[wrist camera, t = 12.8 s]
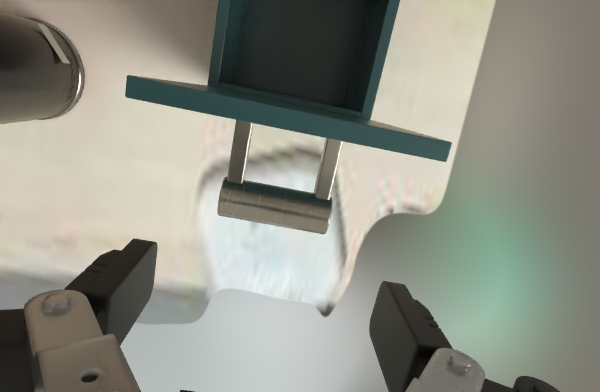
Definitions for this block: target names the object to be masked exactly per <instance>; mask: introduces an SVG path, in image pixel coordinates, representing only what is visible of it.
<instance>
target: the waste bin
mask: <svg viewBox="0 0 600 392" xmlns="http://www.w3.org/2000/svg"><path fill="white" fill-rule="evenodd" d="M399 2H400V0H219V3H218V10H217V18H216V25H215V33H214V40H213V48H212V55H211V63H210V70H209V78H208V85H207V86H211V87H216V88H221V89H225V90H230V91H235V92H240V93H245V94H249V95H254V96H259V97H264V98H268V99H273V100H278V101H283V102H288V103H292V104H297V105H302V106H307V107H312V108H316V109H321V110H326V111H331V112H336V113H340V114H345V115H350V116H355V117H360V118H364V119H369V120H370V118H371V114H372V110H373V106H374V102H375V98H376V94H377V90H378V86H379V82H380V78H381V74H382V70H383V66H384V62H385V58H386V54H387V50H388V46H389V42H390V38H391V34H392V30H393V26H394V22H395V18H396V14H397V10H398V6H399Z"/></svg>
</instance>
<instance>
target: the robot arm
mask: <svg viewBox="0 0 600 392" xmlns="http://www.w3.org/2000/svg"><path fill="white" fill-rule="evenodd" d="M83 88H84V69H83V64H82V61H81V58H80V56H79V54H78V52H77V50H76V48H75V47H74V45H73V44H72V42H71V41H70V40H69V39H68V38H67V37H66V36H65V35H64V34H63V33H62V32H61V31H59V30H58V29H56V28H55V27H53V26H52V25H50V24H48V23H45V22H43V21H39V20H36V19H32V18H26V17H19V16H16V15H12V14H9V13H5V12H1V11H0V124H6V123H14V122H21V121H30V120H44V119H51V118H56V117H59V116H62V115H64V114H65V113H67V112H68V111H70V110H71V109H72V108H73V107H74V106H75V105H76V103H77V102H78V101H79V99H80V97H81V94H82V92H83ZM156 257H157V243H156V242H152V241H146V240H140V239H133V240H132V241H131V242H130V243H129V244H128V245H127V246H126V247H125V248H124V249H123V250H122V251H119V250H112V251H110V252H107V253H105V254H103V255H100V256H99V257H98V258H97V259H96V260H95V261H94V262H93V263H92V265H90V266H89V267H87V268H86V269H85V271H83V272H82V273H81V274H80V275H79V276H78V277H77V278H76V279H74V280H73V281H72V282H71V283H70V284H69V285H68V286H67V287H66V288H65V289H64V290H53V291H48V292H44V293H41V294H39V295H36V296H34V297H33V298H31V299H30V300H29V301H28V302H27V303H26V304H25V306H24V309H13V310H0V392H141V391H140V389H139V386H138V384H137V382H136V380H135V378H134V376H133V373H132V372H131V369H130V367H129V365H128V363H127V361H126V358H125V357H124V354H123V352H122V350H121V348H120V345H121V343H122V342H123V340H124V339H125V337H126V335H127V334H128V332H129V331H130V329H131V328H132V326H133V324H134V323H135V321H136V320H137V318H138V317H139V315H140V313H141V312H142V310H143V309H144V307H145V305H146V304H147V302H148V300H149V298H150V296H151V293H152V289H153V284H154V275H155V266H156ZM369 330H370V337H371V340H372V343H373V346H374V349H375V352H376V355H377V358H378V361H379V364H380V367H381V370H382V373H383V376H384V379H385V382H386V385H387V387H388V391H389V392H560V391H558V390H557V389H555V388H554V387H553V386H551V385H549V384H548V383H546V382H544V381H542V380H539V379H537V378H533V377H529V376H521V377H518V378H517V379H516V381H515V384H514V386H513V388H510V387H506V386H504V385H501V384H499V383H496V382H493V381H490V380H488V379H485V373H484V370H483V369H482V367H481V366H480V365H479V364H478V363H477V362H476V361H475V360H474V359H472V358H471V357H469V356H468V355H466V354H464V353H462V352H460V351H457V350H454V349H453V348H452V347H451V345H450V343H449V342H448V340H447V339H446V337H445V335H444V334H443V332H442V331H441V329H440V328H439V326H438V324H437V323H436V321H434V318H433V316H432V315H431V313H430V312H429V310H428V309H427V308H426V307H425V306H424V305H422V304H421V303H420V302H419V301H418V300H414V299H413V298H412V296H411V294H410V293H409V291H408V289H407V288H406V286H405V285H404V284H399V283H393V282H387V281H383V282H382V283H381V286H380V288H379V292H378V295H377V298H376V302H375V305H374V309H373V312H372V315H371V319H370V329H369ZM180 392H193V391H186V390H181V391H180Z"/></svg>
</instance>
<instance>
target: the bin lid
mask: <svg viewBox="0 0 600 392" xmlns="http://www.w3.org/2000/svg"><path fill="white" fill-rule="evenodd" d="M125 96H126V97H127V98H132V99H137V100H142V101H147V102H152V103H157V104H162V105H166V106H171V107H176V108H181V109H186V110H191V111H196V112H201V113H206V114H211V115H216V116H221V117H226V118H231V119H236V126H235V132H234V138H233V144H232V151H231V157H230V163H229V170H228V176H227V177H225V178H224V180H223V183H222V187H221V191H220V196H219V201H218V215H219V216H225V217H230V218H236V219H242V220H247V221H253V222H258V223H264V224H269V225H275V226H281V227H286V228H292V229H297V230H303V231H309V232H314V233H320V234H325V233H326V231H327V229H328V226H329V223H330V218H331V213H332V197H330V194H331V190H332V186H333V181H334V177H335V173H336V168H337V164H338V160H339V155H340V151H341V147H342V142H343V141H344V142H349V143H354V144H359V145H364V146H369V147H374V148H379V149H384V150H389V151H394V152H399V153H404V154H409V155H414V156H419V157H424V158H429V159H433V160H438V161H443V162H446V161H447V158H448V155H449V151H450V148H451V145H452V143H451V142H449V141H445V140H441V139H438V138H434V137H431V136H427V135H423V134H420V133H416V132H413V131H409V130H405V129H402V128H398V127H395V126H391V125H388V124H384V123H380V122H377V121H373V120H369V119H364V118H360V117H355V116H350V115H345V114H340V113H336V112H331V111H326V110H321V109H316V108H312V107H307V106H302V105H297V104H292V103H288V102H283V101H278V100H273V99H268V98H264V97H259V96H254V95H249V94H245V93H240V92H235V91H230V90H225V89H221V88H216V87H211V86H206V85H198V84H191V83H183V82H176V81H168V80H160V79H153V78H145V77H137V76H130V75H128V76H127V82H126V94H125ZM253 123H255V124H260V125H265V126H270V127H275V128H280V129H285V130H290V131H295V132H300V133H305V134H310V135H315V136H320V137H325V138H326V139H325V143H324V148H323V152H322V157H321V161H320V166H319V171H318V175H317V180H316V184H315V189H314V193H310V192H304V191H299V190H294V189H288V188H283V187H278V186H272V185H267V184H262V183H257V182H251V181H246V180H244V176H245V170H246V164H247V158H248V152H249V147H250V141H251V135H252V129H253Z"/></svg>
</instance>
